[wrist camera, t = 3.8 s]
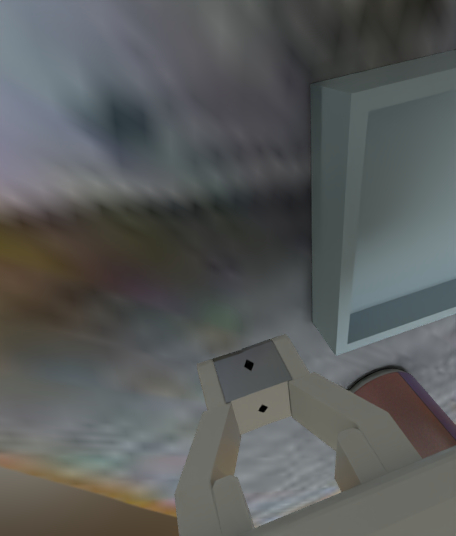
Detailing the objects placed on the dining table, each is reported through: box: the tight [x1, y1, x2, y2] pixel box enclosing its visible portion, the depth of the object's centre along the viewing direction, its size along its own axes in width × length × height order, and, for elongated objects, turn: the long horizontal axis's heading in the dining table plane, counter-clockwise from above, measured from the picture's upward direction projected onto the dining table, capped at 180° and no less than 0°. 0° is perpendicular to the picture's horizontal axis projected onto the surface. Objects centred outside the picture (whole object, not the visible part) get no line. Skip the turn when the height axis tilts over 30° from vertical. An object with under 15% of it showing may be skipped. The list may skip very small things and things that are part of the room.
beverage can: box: [349, 369, 456, 459], centre depth 19 cm, size 6×6×15 cm
